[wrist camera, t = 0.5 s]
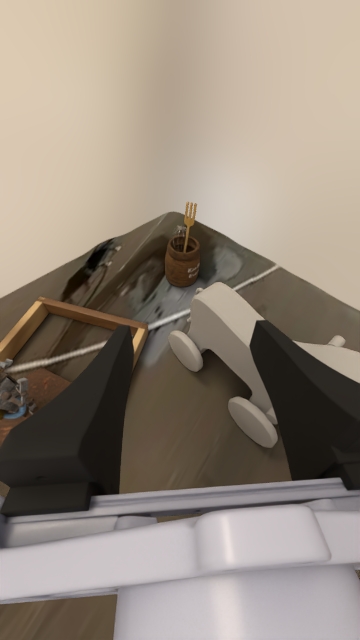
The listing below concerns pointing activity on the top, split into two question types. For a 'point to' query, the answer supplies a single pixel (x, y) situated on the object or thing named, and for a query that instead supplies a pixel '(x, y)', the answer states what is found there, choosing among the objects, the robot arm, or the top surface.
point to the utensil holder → (183, 255)
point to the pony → (245, 354)
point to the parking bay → (46, 306)
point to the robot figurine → (25, 395)
